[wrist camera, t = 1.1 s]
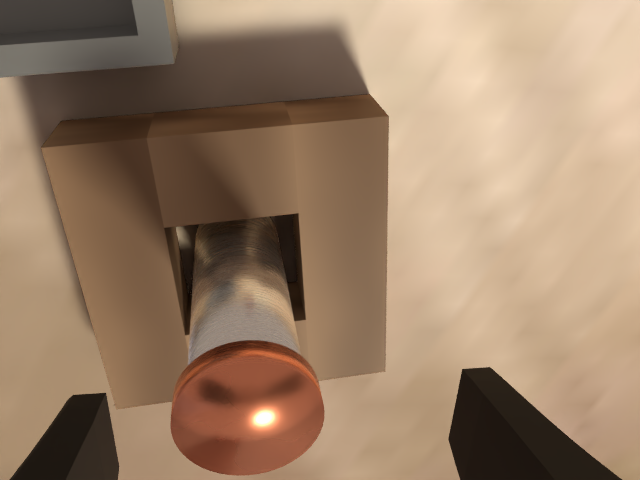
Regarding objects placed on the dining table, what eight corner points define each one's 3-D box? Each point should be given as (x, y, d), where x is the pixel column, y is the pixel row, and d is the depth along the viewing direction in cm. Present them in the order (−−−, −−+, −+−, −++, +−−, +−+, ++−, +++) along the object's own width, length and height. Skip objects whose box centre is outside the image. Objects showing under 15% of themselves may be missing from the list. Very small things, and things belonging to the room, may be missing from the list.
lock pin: (194, 287, 22) (183, 485, 15) (179, 201, 21) (157, 374, 13) (289, 275, 23) (327, 463, 15) (282, 190, 21) (320, 352, 13)
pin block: (125, 364, 24) (116, 409, 21) (61, 120, 19) (40, 147, 17) (370, 331, 25) (385, 371, 23) (370, 94, 20) (388, 116, 18)
